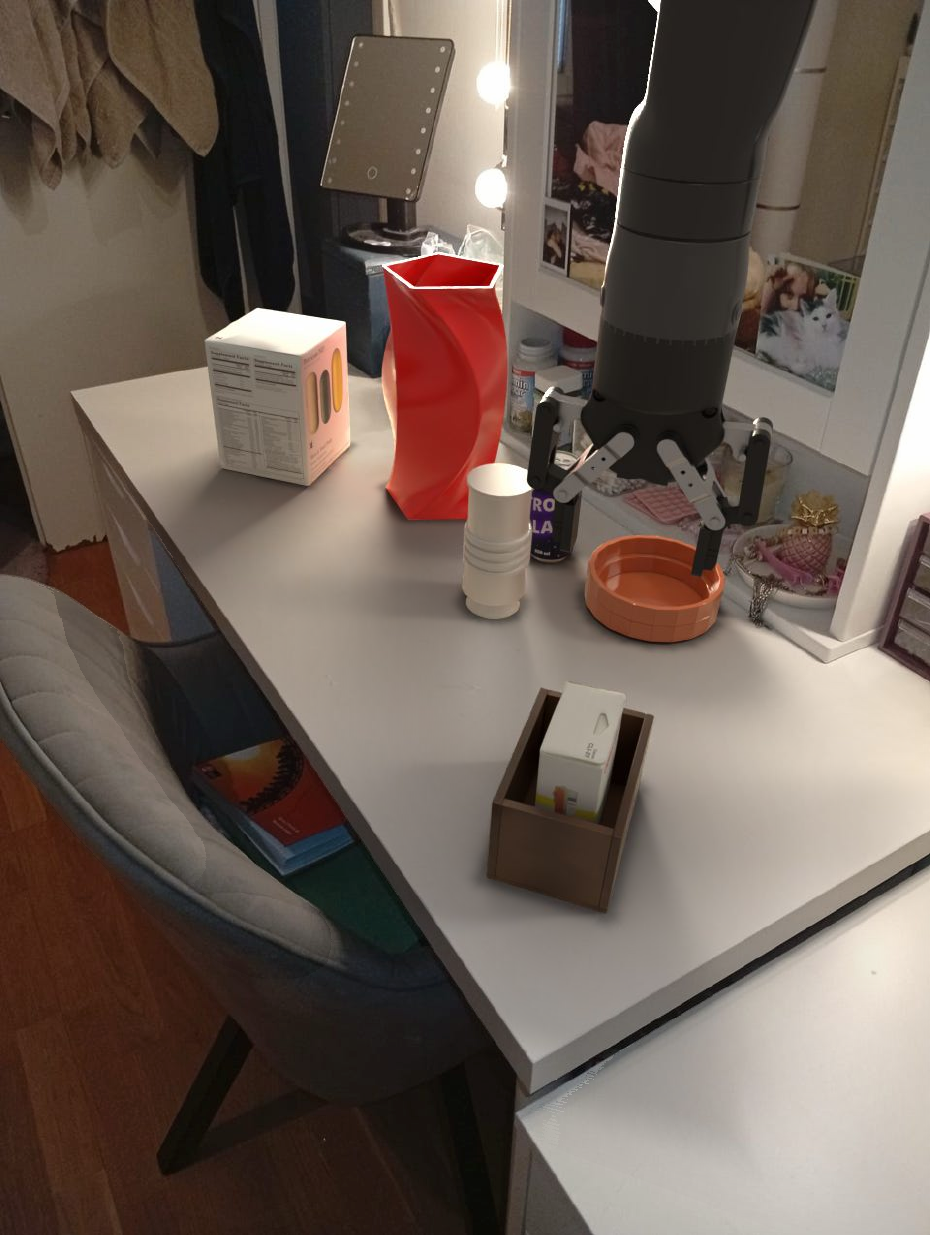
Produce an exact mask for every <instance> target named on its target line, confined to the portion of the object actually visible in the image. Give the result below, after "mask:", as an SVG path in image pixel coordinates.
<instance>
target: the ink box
mask: <svg viewBox="0 0 930 1235" xmlns="http://www.w3.org/2000/svg"><path fill="white" fill-rule="evenodd" d="M626 703H627V696H626V694H624V693H622V692H616V691H613V690H609V689H605V688H601V687H596V686H591V685H587V684H583V683H579V682H574V681H571V680H570V681H569V680H566V682H565V685H564V688H563V691H562V695H561V698H560V700H559V702H558V705H557V707H556V710H555V712H554V715H553V717H552V720H551V722H550V725H549V728H548V730H547V732H546V735H545V737H544V740H543V743H542V745H541V748H540V758H539V769H538V780H537V791H536V800H535V807H537V808H541V809H544V810H548V811H551V812H555V813H559V814H562V815H566V816H569V817H573V818H577V819H580V820H584V821H588V822H591V823H595V824H598V825H600V824H601V820H602V816H603V812H604V808H605V805H606V801H607V797H608V792H609V786H610V780H611V775H612V769H613V764H614V758H615V753H616V747H617V741H618V735H619V729H620V723H621V717H622V712H623V708H625V704H626Z"/></svg>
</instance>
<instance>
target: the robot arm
mask: <svg viewBox="0 0 930 1235" xmlns="http://www.w3.org/2000/svg"><path fill="white" fill-rule="evenodd" d="M648 2H649V3H650V5H651V6H652V8H654V9H655V11H656V12H657V20H656V27H655V34H654V39H653V40H654V41H653V47H652V54H651V60H650V66H649V74H648V78H647V79H648V81H647V88H646V93H645V96H644V99H643V100H642V101H641V102H640V103H639V104H638V105H637V106H636V108H635V109H634V111H633V113H632V114H631V117H630V120H629V124H628V127H627V131H626V135H625V140H624V145H623V146H624V147H623V154H622V161H621V168H620V175H619V176H620V177H619V184H618V185H619V186H618V193H617V194H618V195H617V201H616V211H615V220H614V227H613V233H612V236H611V242H610V245H609V250H608V252H607V257H606V262H605V268H604V276H603V278H604V279H603V283H602V285H601V288H600V296H599V305H600V313H599V314H600V315H599V323H598V331H597V341H596V350H595V359H594V360H595V361H594V366H593V367H594V370H593V376H592V377H593V378H592V387H591V392H590V395H589V397H588V398H587V399H583V398H580V397H574V396H570V395H566V393H565V391H564V390H563V389H562V388H561V387H560V386H551V387H549V388H548V389H547V390H546V392H545V393H544V394H543V396H542V397H541V399H540V401H539V402H538V404H537V406H536V408H535V414H534V421H533V429H532V435H531V436H532V437H531V442H530V443H531V444H530V451H529V458H528V464H527V471H528V472H527V483H528V485H529V486H530V487H531V488H533V489H541V488H542V489H544V490H546V491H548V492H549V493H551V494H552V496H553V497H554V500H555V506H554V517H553V528H552V536H553V539H554V541H556V542H561V543H560V551H565V552H570V553H571V551H572V549H573V550H574V547H575V544H576V542H577V539H578V533H579V524H580V517H581V516H580V515H581V509H582V508H581V507H582V498H583V490H584V489H585V488H586V487H587V486H590V485H592V483H594V482H595V481H596V480H597V479H598V478H599V477H600V476H601V475H602V474H604V472H606V471H607V470H608V469H609V470H610V472H612V473H614V474H616V478H617V479H618V478H619V479H624V480H628V481H629V480H644V481H647V482H648V483H651V484H654V485H658V486H659V485H660V486H664V487H668V485H669V484H671V483H675V482H676V483H677V485H678V486H679V488H680V490H681V491H682V494H683V495H684V496H685V498H686V500H687V502H688V503H689V504H693V506H694V507H695V509H696V511H697V513H698V514H699V516H700V518H701V524H700V528H699V532H698V537H697V541H696V546H695V547H696V552H695V557H694V562H693V566H692V571H691V576H696V577H701V578H702V574H703V569H704V570H710V571H712V569H713V568H714V567H715V565H716V563H718V558H719V553H720V548H721V544H722V540H723V534H724V531H725V530H726V529H727V528H728V527H729V526H733V525H739V524H740V525H741V526H743V527H751V526H754V525H755V524H757V522H758V520H759V515H760V510H761V502H762V496H763V491H764V485H765V480H766V473H767V467H768V461H769V456H770V450H771V443H772V437H773V430H774V424H773V421H772V420H771V419H770V418H769V417H764V416H761V417H757V418H756V419H754V420H753V422H752V423H748V422H747V423H746V422H739V421H726V418H725V416H724V411H723V402H724V396H725V391H726V386H727V382H728V376H729V371H730V367H731V362H732V356H733V351H734V347H735V341H736V337H737V332H738V327H739V321H740V318H741V315H742V312H743V301H744V296H745V291H746V285H747V280H748V274H749V264H750V263H749V262H750V261H749V260H750V245H751V236H752V228H753V223H754V218H755V213H756V209H757V203H758V198H759V193H760V187H761V184H762V178H763V173H764V170H765V169H764V168H765V162H766V156H767V146H768V142H769V141H768V140H769V136H770V134H771V131H772V128H773V125H774V123H775V120H776V118H777V115H778V113H779V111H780V109H781V108H782V104H783V102H784V100H785V97H786V95H787V92H788V89H789V86H790V84H791V81H792V79H793V75H794V73H795V70H796V67H797V64H798V61H799V58H800V56H801V53H802V50H803V48H804V46H805V42H806V39H807V37H808V34H809V31H810V28H811V24H812V22H813V18H814V16H815V12H816V9H817V5H818V2H819V0H648ZM576 420H580V423H581V425H582V427H583V429H584V431H585V433H586V434H587V437H588V438H589V439H590V441H591V444H590V445H589V446H588V447H587V448H586V449H585V451H584V452H582V454H581V455H580V456H579V457H578V459H577V460H576V461H575V462H574V463H573V464H572V465H571V466H570V467H569V468H567V469H566V470H565V469H563V468H562V467H560V466H558V465H556V464H555V458H556V451H557V450H558V444H559V439H560V434H561V433H562V434H563V433H565V432H566V431H568V429H569V427H570V426H571V424H572V423H573V421H576ZM722 443H725V444H727V445H729V446H730V447H731V449H732V457H733V458H734V460H735V461H737V462H739V463H743V464H744V468H743V474H742V475H743V476H742V482H741V488H740V494H739V495H730V496H727V494H726V493H725V491H724V489H723V488H722V486H721V484H720V483H719V481H718V479H717V477H716V472H715V468H714V466H713V465H712V463H711V461H710V460H709V458H708V457H709V456H710V455H712V453H714V452H715V451H716V450H717V449H718V448H719V447H720V446H721V445H722ZM572 552H573V551H572ZM571 554H572V553H571Z"/></svg>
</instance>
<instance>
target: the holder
mask: <svg viewBox="0 0 930 1235" xmlns="http://www.w3.org/2000/svg"><path fill="white" fill-rule="evenodd" d="M562 693H563V691H561V692H560V691H557V690H553V689H549V688H545V687H540V688H539V691H538V693H537V696H536V698H535V700H534V703H533V704H532V707H531V709H530V712H529V714H528V717H527V719H526V721H525V724H524V726H523V729H522V731H521V733H520V735H519V739H518V740H517V743H516V745H515V747H514V749H513V752H512V755H511V756H510V760H509V762H508V764H507V766H506V768H505V771H504V773H503V776H502V778H501V780H500V783H499V786H498V788H497V789H496V792H495V794H494V797H493V800H492V802H491V814H490V824H489V826H490V827H489V839H488V853H487V867H486V878H487V879H489V880H493V881H496V882H499V883H502V884H506V885H510V886H512V887H516V888H520V889H522V890H525V891H526V890H527V891H530V892H533V893H536V894H539V895H543V896H546V897H549V898H553V899H556V900H560V901H563V902H566V903H570V904H573V905H576V906H580V907H583V908H586V909H589V910H593V911H596V912H599V913H602V914H608V911H609V906H610V903H611V899H612V896H613V895H612V894H613V891H614V887H615V884H616V879H617V876H618V872H619V868H620V864H621V861H622V855H623V852H624V848H625V844H626V840H627V837H628V833H629V829H630V826H631V825H630V824H631V821H632V818H633V813H634V809H635V805H636V801H637V797H638V794H639V789H640V785H641V782H642V775H643V771H644V767H645V762H646V756H647V751H648V749H649V743H650V738H651V734H652V728H653V725H654V724H653V723H654V719H655V715H654V714H652V713H651V714H650V713H646V712H643V711H639V710H636V709H635V710H634V709H630V708H626V707H624V708H623V712H622V717H621V723H620V729H619V735H618V741H617V747H616V753H615V758H614V764H613V769H612V775H611V780H610V786H609V792H608V797H607V801H606V805H605V808H604V812H603V816H602V820H601V824H600V825H598V824H595V823H591V822H588V821H584V820H580V819H577V818H573V817H569V816H566V815H562V814H559V813H555V812H551V811H548V810H544V809H541V808H537V807H535V800H536V791H537V780H538V769H539V758H540V748H541V745H542V743H543V740H544V737H545V735H546V732H547V730H548V728H549V725H550V722H551V720H552V717H553V715H554V712H555V710H556V707H557V705H558V702H559V700H560V698H561V695H562Z"/></svg>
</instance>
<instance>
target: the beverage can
mask: <svg viewBox="0 0 930 1235" xmlns="http://www.w3.org/2000/svg"><path fill="white" fill-rule="evenodd" d="M578 458H579V457H578V455H576V454H574V453H571V452H569V451H565V450H558V449H557V451H556V458H555V464H556V465H558V466H560V467H562V468H563V469H565V470H566V469H567V468H569V467H570V466H571V465H572V464H573V463H574V462H575V461H576V460H577V459H578ZM554 506H555V500H554V497H553V496H552V494H551V493H549V492H548V491H546V490H544V489H542V488H541V489H534V490H533V491H532V496H531V507H530V518H529V523H530V525H531V526H532V539H531V550H530V556H532V557H533V558H534V559H535V560H538V561H540V562H543V563H557V562H560V561H562V560H564V559H566V558H567V557H568V556H570V555H571V554H572V553H573V551H574V548H573V549H572V551H571V553H570V552H565V551H560V543H561V542H556V541H554V539H553V536H552V528H553V517H554Z"/></svg>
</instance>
